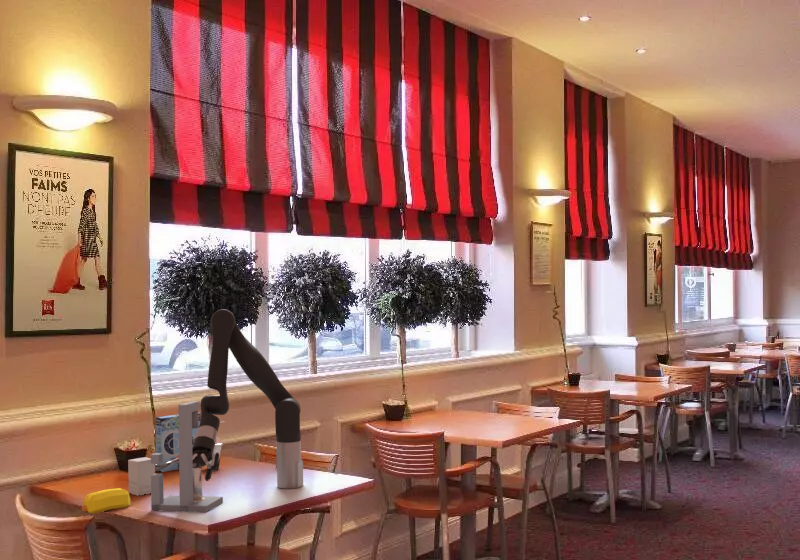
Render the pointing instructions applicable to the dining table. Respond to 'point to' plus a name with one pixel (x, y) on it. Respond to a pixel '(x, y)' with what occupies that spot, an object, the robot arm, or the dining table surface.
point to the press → (181, 469)
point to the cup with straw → (217, 447)
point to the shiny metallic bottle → (197, 482)
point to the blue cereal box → (170, 438)
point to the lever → (167, 464)
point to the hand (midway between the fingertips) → (194, 479)
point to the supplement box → (140, 475)
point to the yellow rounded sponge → (106, 500)
